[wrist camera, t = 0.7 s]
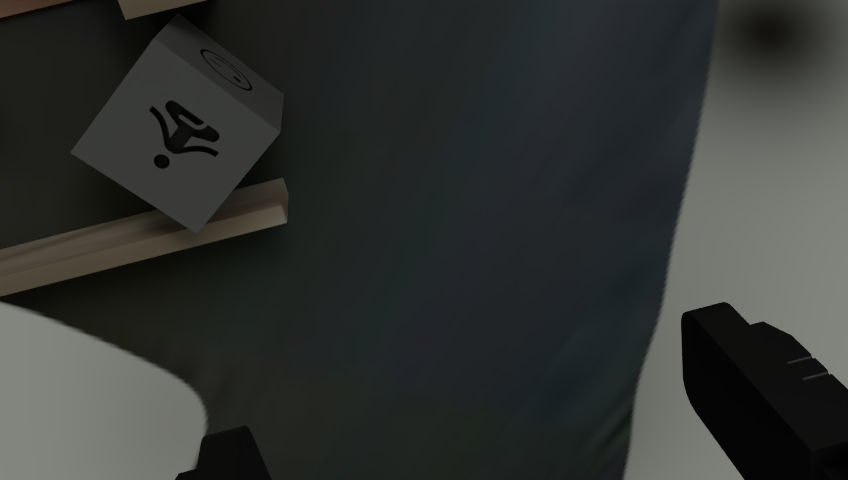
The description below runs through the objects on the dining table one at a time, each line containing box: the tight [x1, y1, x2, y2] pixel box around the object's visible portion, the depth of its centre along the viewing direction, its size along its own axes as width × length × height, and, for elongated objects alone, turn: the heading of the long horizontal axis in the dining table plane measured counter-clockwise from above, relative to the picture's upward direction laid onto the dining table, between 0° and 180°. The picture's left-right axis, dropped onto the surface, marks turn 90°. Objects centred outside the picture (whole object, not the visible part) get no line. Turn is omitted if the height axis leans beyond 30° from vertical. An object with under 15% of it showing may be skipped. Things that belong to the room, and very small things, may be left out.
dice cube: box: [70, 13, 284, 234], centre depth 27 cm, size 5×5×5 cm
